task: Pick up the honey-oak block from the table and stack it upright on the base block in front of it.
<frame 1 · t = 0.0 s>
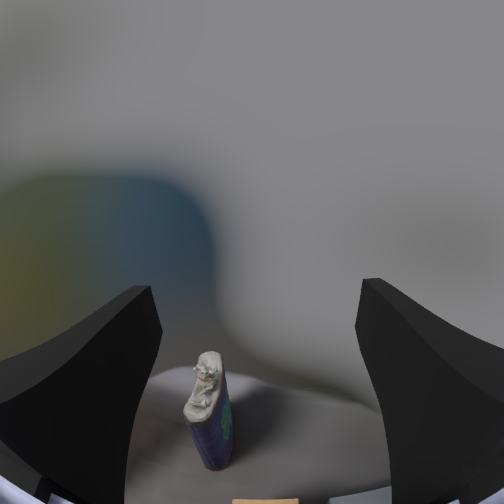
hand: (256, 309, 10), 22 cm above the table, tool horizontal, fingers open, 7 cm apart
flask: (219, 438, 26), on the table
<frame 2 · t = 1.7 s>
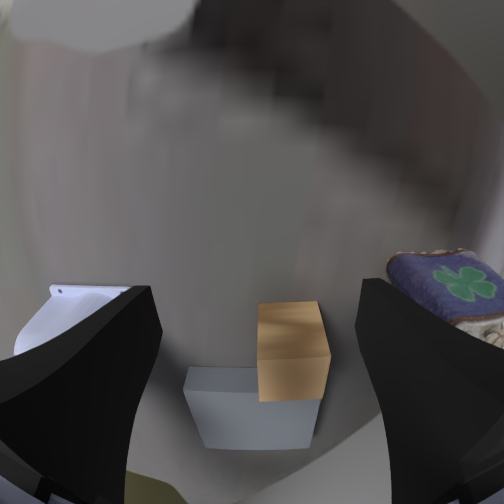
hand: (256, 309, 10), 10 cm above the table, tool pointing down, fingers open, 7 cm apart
base block: (255, 403, 28), on the table
oak block: (287, 324, 23), on the table
flask: (431, 263, 20), on the table
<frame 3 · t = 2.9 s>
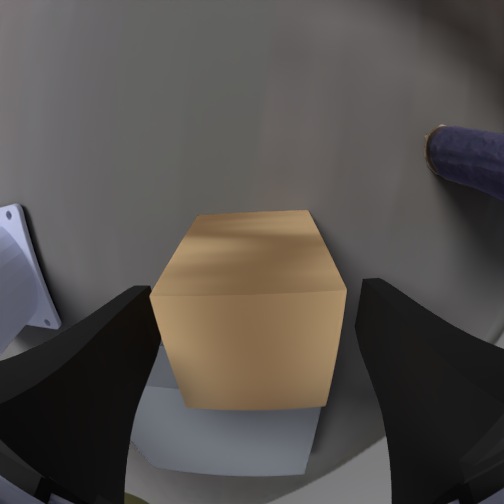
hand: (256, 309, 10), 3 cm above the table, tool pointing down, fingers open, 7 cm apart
base block: (218, 408, 17), on the table
oak block: (255, 261, 13), on the table
flask: (488, 159, 10), on the table
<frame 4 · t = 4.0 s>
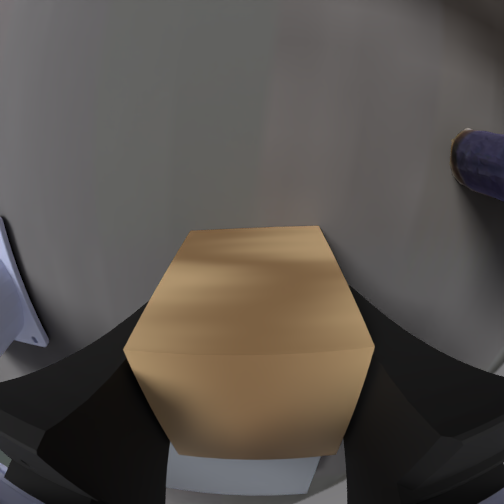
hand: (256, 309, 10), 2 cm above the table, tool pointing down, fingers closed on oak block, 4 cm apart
base block: (217, 429, 16), on the table
oak block: (257, 283, 11), on the table, touching gripper
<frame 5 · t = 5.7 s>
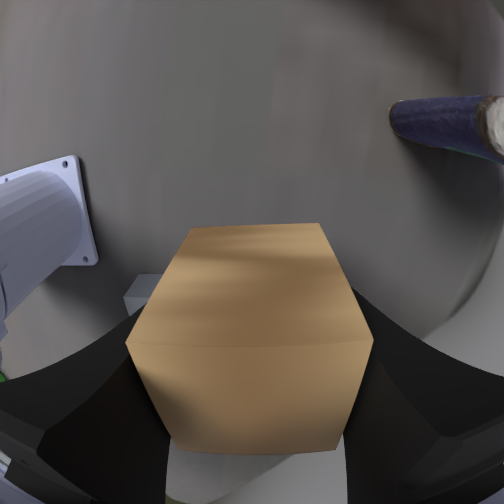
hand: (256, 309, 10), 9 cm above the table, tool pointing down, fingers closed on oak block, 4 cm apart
base block: (229, 340, 22), on the table
oak block: (257, 280, 11), point 7 cm above the table, touching gripper
flask: (444, 127, 14), on the table
when the fingers open (6 cm above the table, at t = 7.6 s): oak block stays where it is, resting on base block.
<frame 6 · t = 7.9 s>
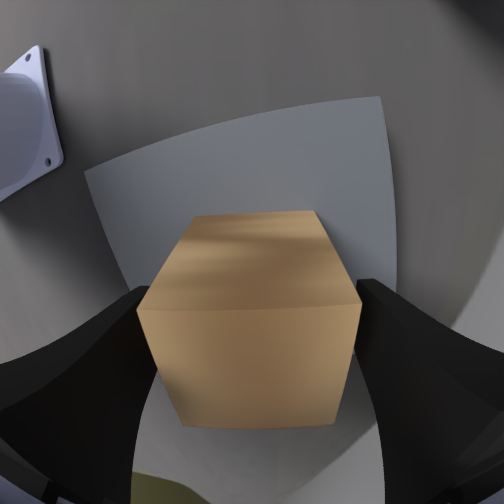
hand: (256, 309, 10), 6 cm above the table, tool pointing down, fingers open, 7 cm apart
base block: (258, 242, 15), on the table
oak block: (257, 266, 12), point 3 cm above the table, touching base block
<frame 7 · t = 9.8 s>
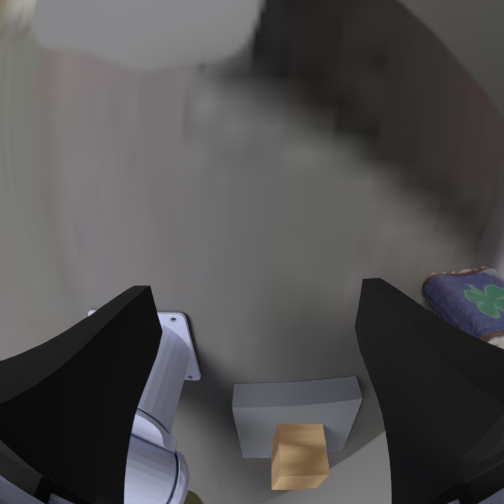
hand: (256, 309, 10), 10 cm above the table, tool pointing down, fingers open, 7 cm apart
base block: (293, 413, 28), on the table
oak block: (296, 434, 25), point 3 cm above the table, touching base block
flask: (458, 280, 21), on the table
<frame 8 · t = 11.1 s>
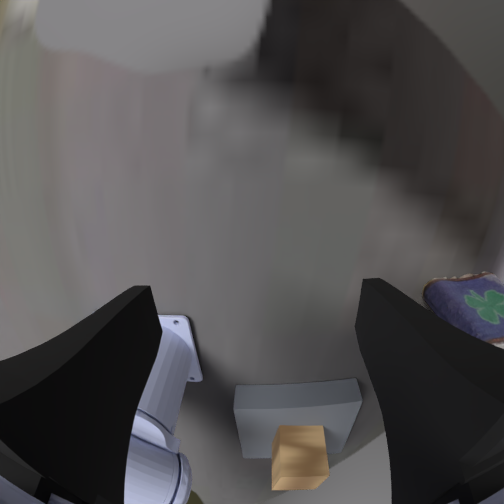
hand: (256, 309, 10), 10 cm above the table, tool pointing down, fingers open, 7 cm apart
base block: (294, 414, 29), on the table
oak block: (296, 435, 26), point 3 cm above the table, touching base block
flask: (459, 285, 21), on the table
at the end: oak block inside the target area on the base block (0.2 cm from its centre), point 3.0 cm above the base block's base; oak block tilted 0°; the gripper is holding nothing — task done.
